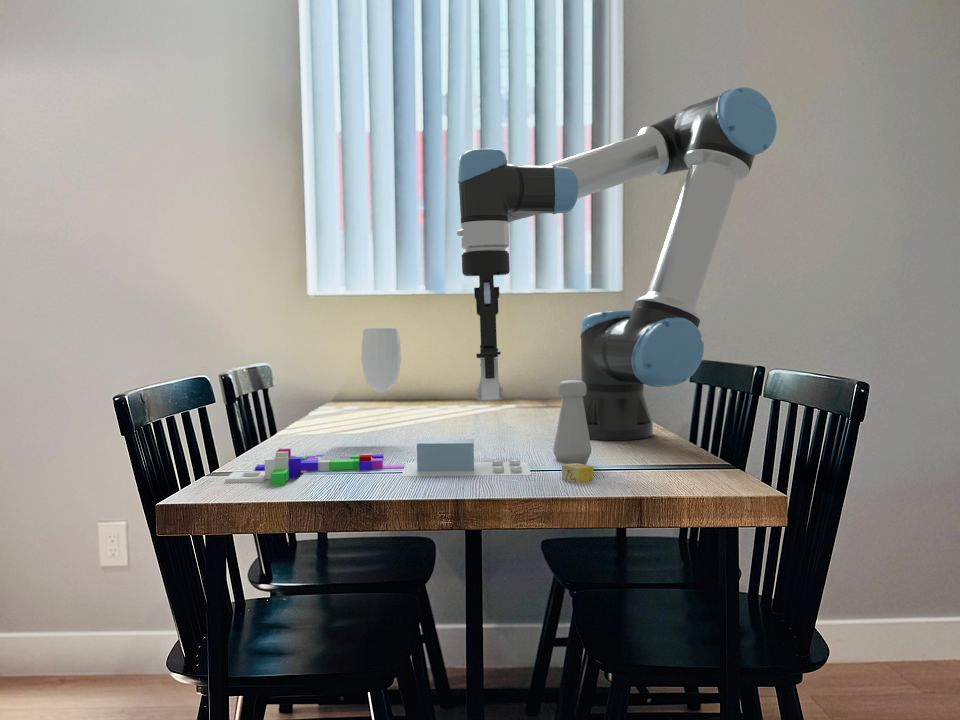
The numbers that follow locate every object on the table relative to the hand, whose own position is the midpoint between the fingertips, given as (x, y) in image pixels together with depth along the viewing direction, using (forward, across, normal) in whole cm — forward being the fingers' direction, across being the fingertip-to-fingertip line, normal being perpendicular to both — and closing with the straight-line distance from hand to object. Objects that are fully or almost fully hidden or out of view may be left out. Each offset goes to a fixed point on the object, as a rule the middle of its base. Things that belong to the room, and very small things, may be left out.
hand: (490, 396), depth 128 cm
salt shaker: (+10, +6, +12) cm, 17 cm away
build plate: (+10, +13, -4) cm, 17 cm away
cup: (+10, -18, -20) cm, 28 cm away
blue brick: (+9, +13, -7) cm, 17 cm away
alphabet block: (+10, +21, +11) cm, 26 cm away
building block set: (+10, +8, -26) cm, 29 cm away
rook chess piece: (+1, 0, 0) cm, 1 cm away
